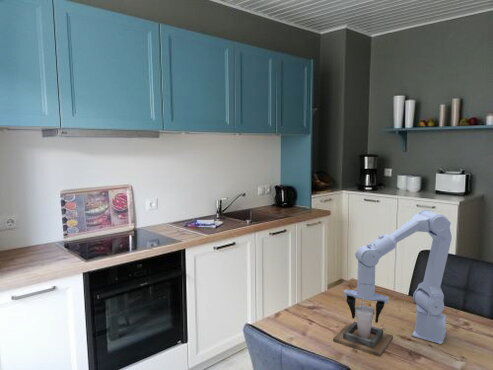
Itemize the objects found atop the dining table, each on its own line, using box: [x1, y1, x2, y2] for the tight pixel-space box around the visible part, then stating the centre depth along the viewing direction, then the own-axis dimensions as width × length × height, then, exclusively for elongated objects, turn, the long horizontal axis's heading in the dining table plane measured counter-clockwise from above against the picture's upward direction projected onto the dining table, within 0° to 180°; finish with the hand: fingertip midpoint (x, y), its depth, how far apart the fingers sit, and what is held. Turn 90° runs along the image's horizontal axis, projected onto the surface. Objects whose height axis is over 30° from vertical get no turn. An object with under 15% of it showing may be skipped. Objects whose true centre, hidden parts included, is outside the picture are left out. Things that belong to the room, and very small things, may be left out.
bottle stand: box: [332, 320, 394, 358], centre depth 128 cm, size 16×14×3 cm
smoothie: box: [355, 299, 375, 338], centre depth 129 cm, size 6×6×14 cm
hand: (365, 319), depth 129 cm, fingers open, 7 cm apart
